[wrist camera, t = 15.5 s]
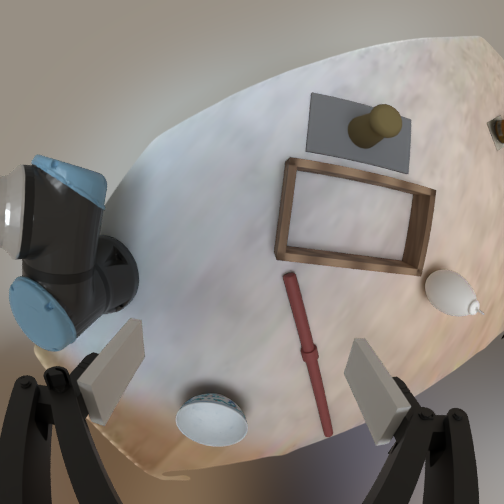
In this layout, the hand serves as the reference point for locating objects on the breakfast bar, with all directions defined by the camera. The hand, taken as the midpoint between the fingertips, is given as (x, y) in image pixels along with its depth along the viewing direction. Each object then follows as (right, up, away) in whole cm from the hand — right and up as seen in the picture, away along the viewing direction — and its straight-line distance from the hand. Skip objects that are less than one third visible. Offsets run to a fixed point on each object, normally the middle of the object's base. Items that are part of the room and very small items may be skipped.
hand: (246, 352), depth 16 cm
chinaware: (-8, -28, +40) cm, 49 cm away
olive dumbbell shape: (+20, +27, +26) cm, 43 cm away
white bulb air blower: (+38, 0, +33) cm, 50 cm away
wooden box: (+18, +12, +30) cm, 37 cm away
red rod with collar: (+13, -19, +37) cm, 44 cm away
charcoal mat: (+20, +27, +27) cm, 43 cm away
